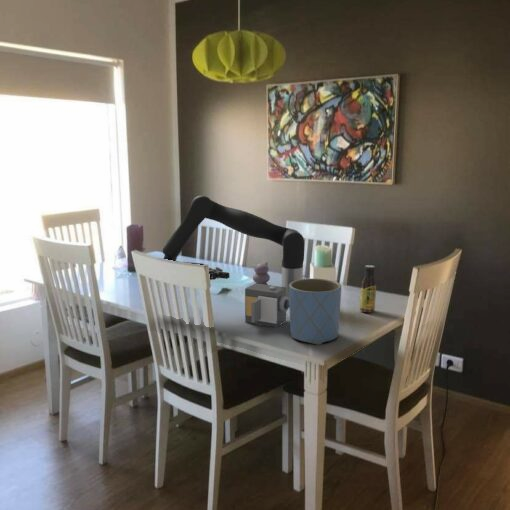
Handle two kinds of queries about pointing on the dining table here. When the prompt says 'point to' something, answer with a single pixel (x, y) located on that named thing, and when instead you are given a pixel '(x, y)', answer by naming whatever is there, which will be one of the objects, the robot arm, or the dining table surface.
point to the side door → (264, 310)
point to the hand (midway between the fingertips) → (228, 275)
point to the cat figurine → (261, 273)
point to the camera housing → (267, 291)
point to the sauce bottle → (368, 290)
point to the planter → (314, 310)
